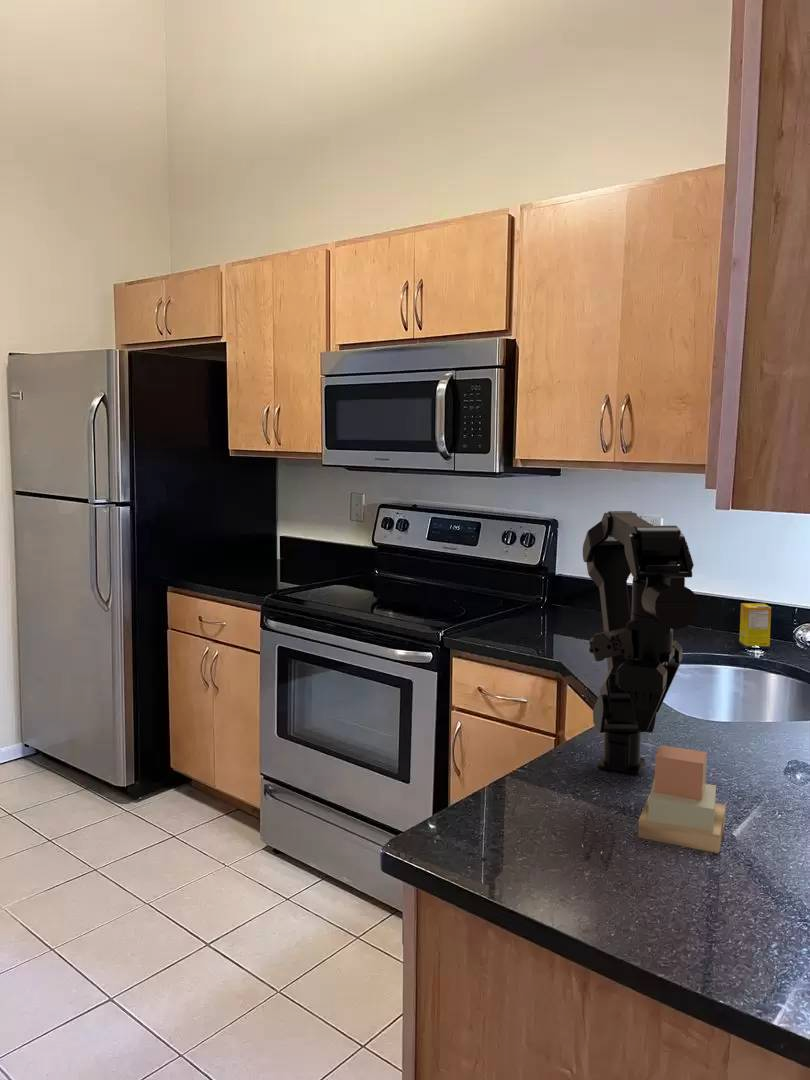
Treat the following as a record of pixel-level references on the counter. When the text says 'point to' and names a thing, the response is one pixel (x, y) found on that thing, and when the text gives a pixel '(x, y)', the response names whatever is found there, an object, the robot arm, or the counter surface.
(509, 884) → the counter surface
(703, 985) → the counter surface
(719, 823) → the tower base
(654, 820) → the tower top
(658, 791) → the terracotta brick
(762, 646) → the supplement box
